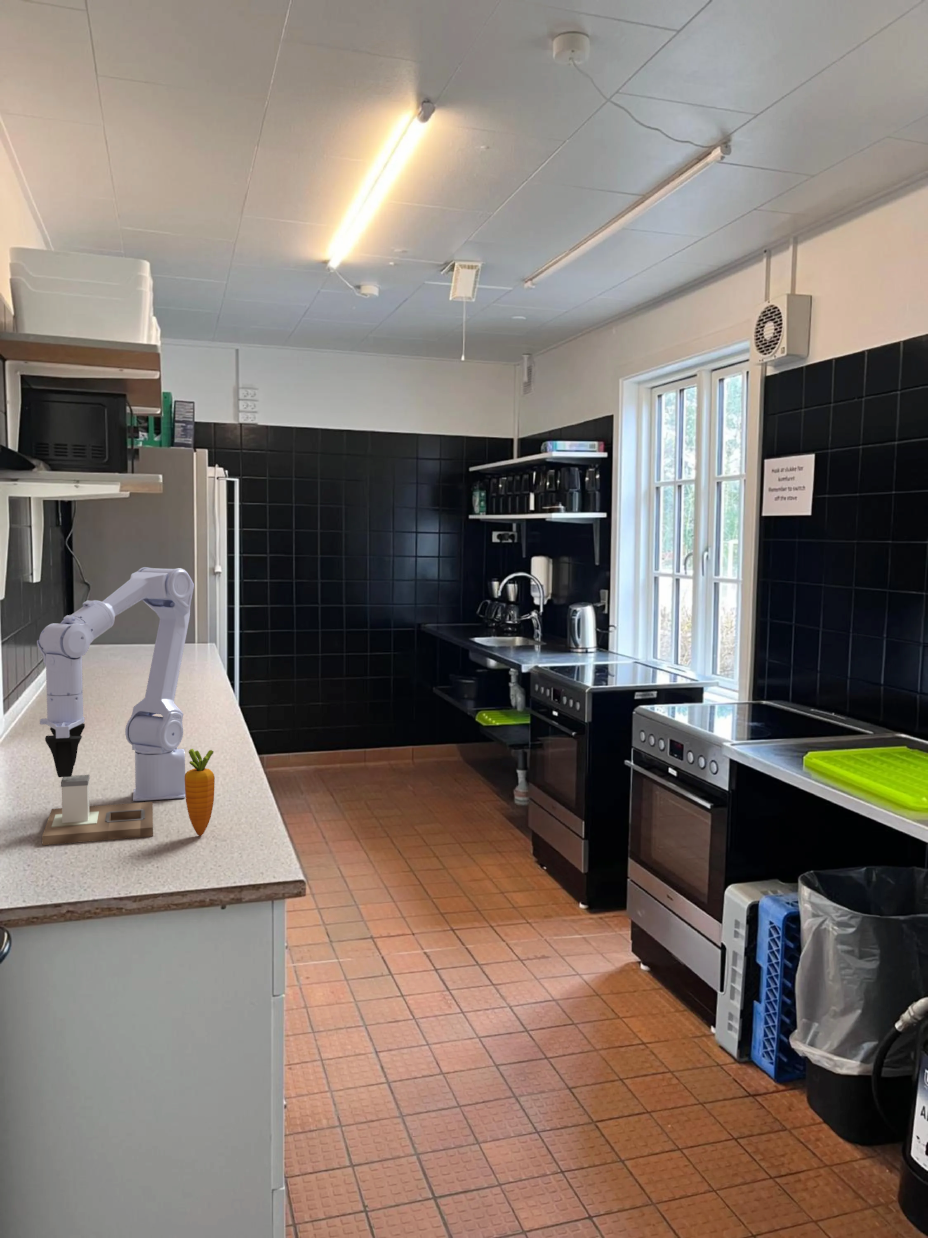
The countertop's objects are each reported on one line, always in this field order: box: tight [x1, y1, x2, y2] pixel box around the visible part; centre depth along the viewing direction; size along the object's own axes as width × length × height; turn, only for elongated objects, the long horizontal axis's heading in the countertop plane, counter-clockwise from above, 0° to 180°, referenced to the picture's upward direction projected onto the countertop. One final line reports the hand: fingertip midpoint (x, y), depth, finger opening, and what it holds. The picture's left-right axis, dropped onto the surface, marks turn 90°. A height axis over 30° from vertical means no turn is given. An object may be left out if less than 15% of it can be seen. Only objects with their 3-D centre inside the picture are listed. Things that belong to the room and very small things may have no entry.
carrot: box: [185, 748, 216, 837], centre depth 157 cm, size 5×5×15 cm
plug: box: [60, 774, 90, 823], centre depth 160 cm, size 4×4×7 cm
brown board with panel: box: [41, 801, 154, 846], centre depth 162 cm, size 17×16×2 cm
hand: (66, 771), depth 162 cm, fingers open, 7 cm apart
